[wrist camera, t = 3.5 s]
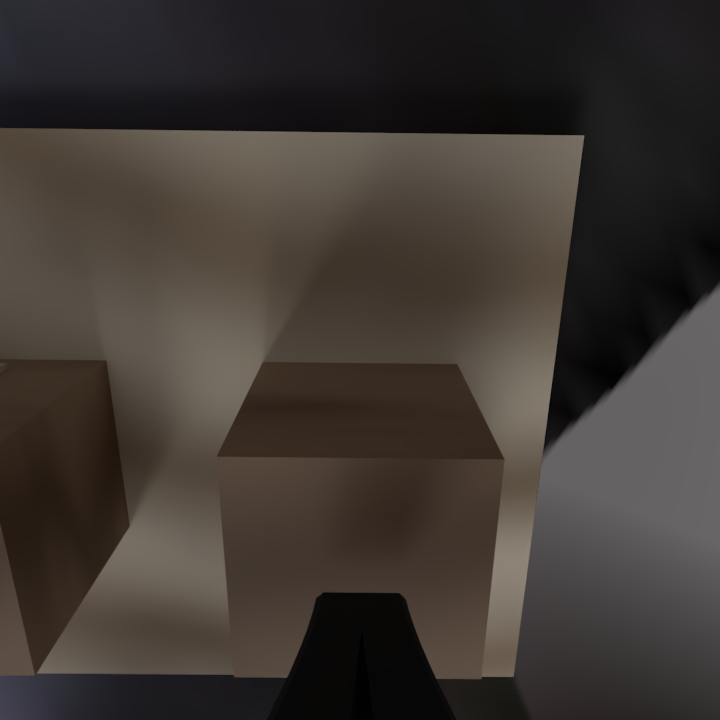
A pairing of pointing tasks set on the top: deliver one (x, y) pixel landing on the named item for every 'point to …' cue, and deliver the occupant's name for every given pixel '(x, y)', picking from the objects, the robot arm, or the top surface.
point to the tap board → (275, 325)
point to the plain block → (359, 507)
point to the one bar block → (54, 500)
